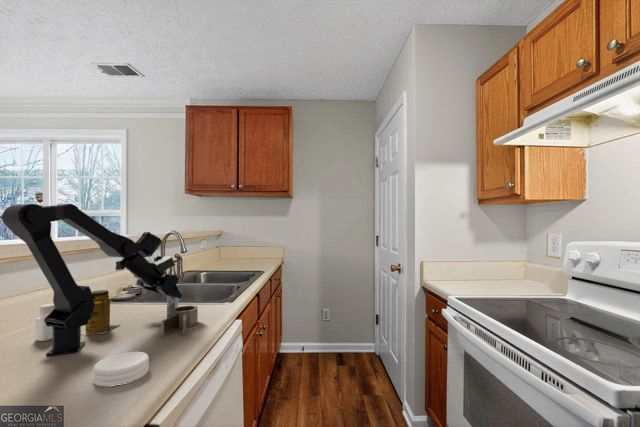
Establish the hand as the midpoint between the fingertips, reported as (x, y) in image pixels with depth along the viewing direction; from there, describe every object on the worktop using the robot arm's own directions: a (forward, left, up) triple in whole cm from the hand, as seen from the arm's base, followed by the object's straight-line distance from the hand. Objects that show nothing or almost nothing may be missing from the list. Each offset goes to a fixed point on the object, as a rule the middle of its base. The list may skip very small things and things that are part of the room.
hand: (174, 295), depth 108 cm
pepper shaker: (-8, +32, -8) cm, 34 cm away
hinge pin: (0, 0, -7) cm, 8 cm away
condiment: (-5, +20, -8) cm, 22 cm away
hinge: (-14, -2, -7) cm, 16 cm away
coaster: (-42, +8, -8) cm, 44 cm away
